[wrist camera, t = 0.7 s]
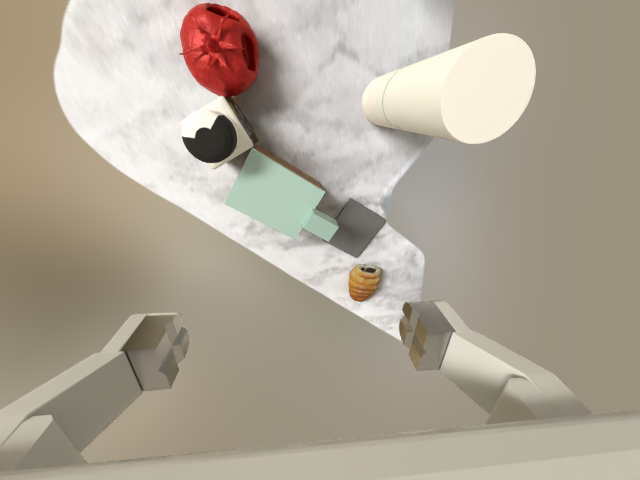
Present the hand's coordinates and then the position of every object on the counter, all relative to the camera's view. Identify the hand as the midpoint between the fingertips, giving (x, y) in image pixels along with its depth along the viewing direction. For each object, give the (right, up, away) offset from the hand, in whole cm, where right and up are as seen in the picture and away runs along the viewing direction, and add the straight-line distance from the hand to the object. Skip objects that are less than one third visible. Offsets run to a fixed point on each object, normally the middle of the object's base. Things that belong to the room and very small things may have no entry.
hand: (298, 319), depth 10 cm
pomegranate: (-13, +30, +27) cm, 42 cm away
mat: (+7, +5, +42) cm, 43 cm away
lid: (-4, +9, +32) cm, 33 cm away
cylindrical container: (+11, +26, +32) cm, 42 cm away
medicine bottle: (-14, +21, +32) cm, 40 cm away
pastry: (+10, -5, +48) cm, 49 cm away
